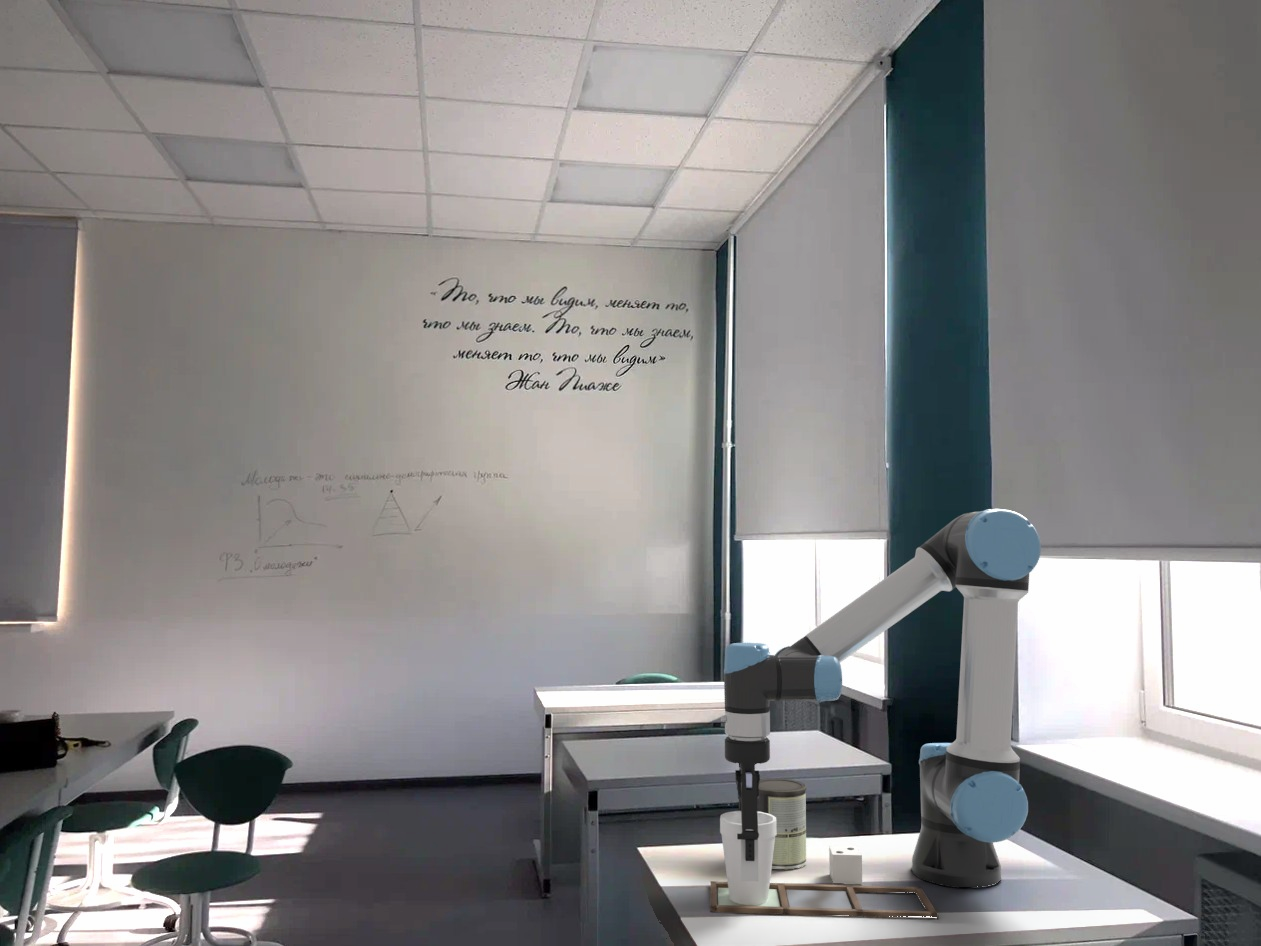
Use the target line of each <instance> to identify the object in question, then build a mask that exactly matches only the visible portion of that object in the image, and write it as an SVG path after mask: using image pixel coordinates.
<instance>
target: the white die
mask: <svg viewBox="0 0 1261 946" xmlns="http://www.w3.org/2000/svg"><path fill="white" fill-rule="evenodd" d="M828 847H829V849H828V851H829V852H828V853H829V877H830V876H831V877H830V879H831V882H832V881H833V882H832V884H833V883H846V884H845V885H861V884H862V885H863V855H862V853H861V851H860V848H859V847H858V846H838V845H837V846H836V845H835V846H833V845H829V846H828Z"/></svg>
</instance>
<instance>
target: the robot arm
mask: <svg viewBox="0 0 1261 946" xmlns="http://www.w3.org/2000/svg"><path fill="white" fill-rule="evenodd" d="M1041 545H1042V544H1041V539H1040V536H1039V533H1038V532H1037V530H1036V527H1035V526H1034V525H1033V524H1032V523H1031V522H1030V520H1029V519H1028V518H1026V517H1025V516H1023V515H1022V514H1021V513H1018V512H1016V511H1012V510H1009V509H1001V508H988V509H984V510H980V511H972V512H971V511H970V512H966V513H963V514H961V515H959V516H957V517H956V518H954V519H953V520H951V521H950V522H949V523H947V524H946V525H945V526H944V527H942V528H941V529H940V530H939V531H938V532H936V533H935V534H934V535H933V536H931V537H930V538H928V540H926V541H925V542H924V543H923V544H921V545H920V546H918V547H917V548H916V549H915V553H914V554H915V555H914V557H913V558H911V559H910V560H909V561H907V562H906V563H905V564H903V565H902V566H900V567H899V568H898V569H896V570H895V571H893V572H892V573H890V574H889V575H888V576H886V577H885V578H884V579H882V580H881V581H879V582H878V583H877V584H875V585H874V586H873V587H871V588H870V589H868V590H867V591H866V592H864V593H863V594H861V595H859V596H858V597H857V598H856V599H854V600H853V601H852V602H850V603H848V605H846V606H844V607H843V608H842V609H840V610H839V611H837V612H836V613H834V614H833V615H832V616H830V617H829V618H828V619H827V620H825V621H823V622H822V623H821V624H819V625H818V626H817V627H815V628H814V629H813V630H811V631H810V632H808V633H807V634H805V636H803V637H802V638H800V639H798V640H797V641H795V642H794V643H793V644H791V645H788V646H784V647H782V648H781V649H779V650H778V651H777V652H776V653H775V654H771V652H770V649H769V648H770V647H769V646H768V645H767V644H765V643H762V642H736V643H735V642H734V643H730V644H729V645H727V647H726V648H725V650H724V669H723V681H724V682H723V683H724V684H723V686H724V687H723V689H724V690H723V691H724V714H725V715H722V716H721V717H720V721H721V722H723V723H724V722H725V723H724V733H725V734H726V735H727V736H726V737H725V739H724V759H725V760H726V761H728V762H729V763H732V764H738V769H735V771H734V772H735V777H734V778H735V784H736V790H737V799H738V802H737V806H738V808H737V811H741V819H742V833H741V834H737V839H741V881H758V836H759V833H758V815H757V800H758V799H759V784H760V780H761V775H760V771H759V770H756V767H755V766H756V765H757V764H760V765H761V764H765V763H767V762H769V760H770V759H771V749H770V748H771V742H770V741H771V740H770V739H769V738H768V736H769V735H770V734H771V711H770V702H771V701H774V702H779V701H782V702H783V701H784V702H785V701H786V702H787V701H788V702H789V701H790V702H791V701H793V702H794V701H795V702H818V703H822V702H833V701H837V700H839V698H840V697H841V695H842V691H843V672H842V666H841V663H842V662H843V661H845V660H846V659H848V658H849V657H850V656H852V655H854V653H856V652H857V651H859V650H860V649H862V648H863V647H864V646H866V645H867V644H868V643H870V642H871V641H872V640H874V639H876V638H877V637H878V636H879V635H881V634H882V633H884V632H885V631H886V630H888V629H890V628H891V627H893V625H896V623H898V622H900V621H901V620H902V619H903V618H905V617H906V616H908V615H909V614H910V613H912V612H913V611H915V610H916V609H918V608H919V607H920V606H922V605H923V604H924V603H926V602H927V601H930V599H932V598H933V597H935V596H936V595H937V594H938V593H940V592H942V591H944V592H952V591H953V590H954V589H955V588H957V590H958V592H960V594H961V595H962V596H963V612H962V613H963V615H962V630H961V632H962V633H961V648H960V649H961V651H960V666H959V667H960V668H959V685H958V701H957V704H958V705H957V719H956V720H957V721H956V723H957V724H956V739H955V740H954V741H953V742H932V743H931V742H930V743H925V744H923V745H922V746H921V747H920V750H919V751H920V753H919V760H918V764H919V778H920V779H919V780H920V781H919V782H920V783H919V785H920V786H919V787H920V788H919V789H920V814H921V815H920V816H921V817H920V819H921V821H920V822H921V828H920V831H919V835H918V838H917V841H916V845H915V847H914V852H913V853H912V858H911V859H912V860H911V864H912V865H911V866H912V867H911V869H912V870H911V871H912V873H913V874H914V875H915V876H916V877H918V879H922V880H923V881H925V880H926V882H928V881H929V882H928V883H931V882H932V883H931V884H935V883H936V884H935V885H941V886H944V885H945V886H944V887H950V886H952V887H951V888H959V887H977V886H978V887H982V886H988V885H992V884H995V883H997V882H999V881H1000V880H1001V881H1002V865H1001V863H1000V860H999V857H998V854H997V850H996V848H995V844H994V843H999V842H1003V841H1006V840H1008V839H1010V838H1012V837H1013V836H1015V834H1016V833H1018V832H1019V831H1020V830H1021V828H1022V827H1023V826H1024V825H1025V822H1026V820H1027V817H1028V813H1029V800H1028V797H1027V794H1026V792H1025V789H1024V788H1023V786H1022V784H1020V769H1021V768H1020V764H1021V758H1020V756H1019V755H1018V754H1017V753H1016V752H1015V751H1014V749H1013V748H1012V727H1013V710H1014V708H1013V706H1014V688H1015V686H1014V685H1015V669H1016V668H1015V667H1016V648H1017V646H1016V645H1017V628H1018V612H1019V609H1018V607H1019V601H1020V600H1021V599H1023V598H1024V597H1025V596H1026V595H1028V594H1029V587H1030V586H1029V585H1030V573H1031V572H1032V571H1033V570H1034V568H1036V566H1037V564H1039V563H1038V562H1039V561H1040V558H1041V557H1040V556H1041V552H1042V549H1041V548H1042V546H1041ZM746 829H750V830H754V831H748V830H746ZM1001 881H1000V882H1001ZM1000 882H999V883H1000Z"/></svg>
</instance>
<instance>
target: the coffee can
mask: <svg viewBox="0 0 1261 946" xmlns="http://www.w3.org/2000/svg"><path fill="white" fill-rule="evenodd" d="M806 791H807V785H806V784H805V783H804V782H801V781H799V780H795V779H789V778H788V779H787V778H762V779H761V778H760V784H759V799H758V800H757V812H764V813H768V814H771V815H773V816H775V817H776V831H777V835H776V836H775V842H774V851H773V860H772V868H771V870H772V869H793V870H795V869H794V868H798V867H802V866H804V865H805V864H806V863H807V862H808V861H807V815H806V814H807V811H806V810H807V804H806V803H807V802H806V800H807V798H806V796H807V795H806ZM806 865H807V864H806ZM806 865H805V866H806ZM805 866H804V867H805ZM802 868H803V867H802Z"/></svg>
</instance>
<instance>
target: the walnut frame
mask: <svg viewBox="0 0 1261 946" xmlns="http://www.w3.org/2000/svg"><path fill="white" fill-rule="evenodd" d="M709 881H710V880H709ZM709 886H710V888H709V889H710V894H709V895H710V897H709V899H710V901H709V902H710V903H709V904H710V909H709V910H710V913H724V914H725V913H727V914H728V913H733V914H761V915H764V914H765V915H767V914H769V915H789V916H790V915H793V916H821V915H849V916H848V917H853V916H863V917H862V918H885V917H889V916H890V917H892V916H893V917H897V916H898V917H900V916H901V917H903V916H906V917H908V916H922V917H923V916H924V917H926V916H930V917H931V916H932V917H939V915H938V912H937V910H936V909H935V908H934V906H933V904H932V903H931V901H930V900H929V898H928V896H927V895H926V893H925V892H924V890H923V889H922V887H920V886H890V885H889V886H888V885H887V886H886V885H884V886H883V885H860V884H822V883H821V884H818V883H788V882H787V883H785V882H784V883H783V882H779V883H777V882H770V886H769V895H768V901H767V902H765V903H763V904H759V905H743V904H738V903H735V902H733V901H732V900H730V895H729V889H728V881H717V880H716V881H715V880H714V881H710V885H709ZM846 891H847V892H846ZM865 892H869V893H870V894H873V893H874V894H884V893H883V892H905V893H907V892H908V893H909V892H913V893H914V892H915V893H917V895H918V896H919V898H920V900H921V901H920V900H919V901H920V903H921V902H922V903H923V905H924V906H925V908H926V910H927V911H926V910H902V909H901V910H898V909H897V910H895V909H893V910H892V909H867V908H866V909H865V908H864V909H863V908H862V906H861V903H860V901H859V898H858V897H857V894H856V893H865ZM876 892H877V893H876ZM847 893H848V894H847ZM869 893H868V894H869ZM917 895H916V896H917ZM849 898H850V899H849ZM919 898H918V899H919ZM851 903H852V904H851ZM922 903H921V904H922ZM923 905H922V906H923ZM924 906H923V907H924ZM853 908H854V909H853ZM925 908H924V909H925ZM864 916H866V917H864Z"/></svg>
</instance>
